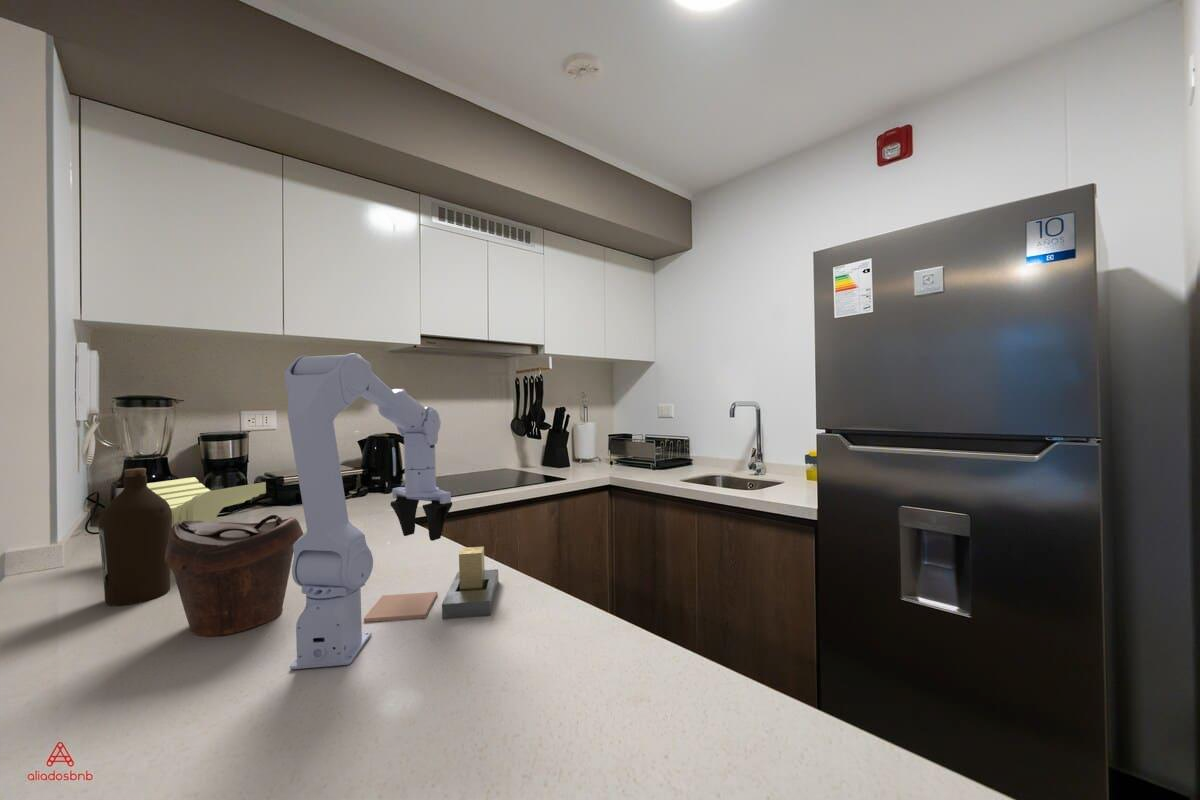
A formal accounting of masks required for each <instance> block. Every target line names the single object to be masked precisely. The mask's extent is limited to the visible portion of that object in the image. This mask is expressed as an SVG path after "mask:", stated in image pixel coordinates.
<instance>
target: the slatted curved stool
mask: <svg viewBox="0 0 1200 800" xmlns="http://www.w3.org/2000/svg"><path fill="white" fill-rule="evenodd" d="M266 485H267V483H266V481H264V482H263V481H262V482H258V483H251V484H250V483H249V484H245V485H238V486H232V487H231V486H230V487H226V488H219V489H218V488H217V489H214V490H212V489H209V487H206V486H205V485H204V484H203V483H201V482H200V481H199V479H197V478H196V477H194V476H193V477H185V478H177V479H172V480H171V479H170V480H163V481H156V482H147V487H148V488H149V489H150V490H152V491H153V492H155V493H156V494H157V495H159V496H160V497H162V498H163V499H164V500H166V501H167V502H168V504H169V506H170V508H171V511H172V527H173V526H174V525H175V524H176V523H177V522H180V521H185V520H196V521H209V522H217V517H218V515H219V514H220V512H222V510H223V509H224V508H226V507H230V506H233V505H238V504H243V503H245V502H246V501H249V500H252V499H253V498H257V497H259V496H260V495H264V494H267V486H266Z"/></svg>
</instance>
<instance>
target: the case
mask: <svg viewBox="0 0 1200 800" xmlns="http://www.w3.org/2000/svg"><path fill="white" fill-rule="evenodd" d="M271 520H272V521H271ZM273 520H274V521H273ZM303 534H304V532H303V529H302V527H301V524H300V521H298V519H297V518H295V517H294V516H293V517H292V516H291V517H288V518H286V519H283V518H282V517H281V516H279V515H276V514H271V515H269V516H266V517H265V518H262V519H261V521H260V522H251V523H249V522H248V523H247V522H237V521H236V522H235V521H233V522H231V521H228V522H227V521H215V522H209V521H196V520H185V521H180V522H177V523H176V524H175V525H174V526H173V527H172V528H171V530H170V533H169V538H168V543H167V548H166V554H165V561H166V563H168V564H169V565H170V568H171V569H172V573H173V576H174V579H175V582H176V586H177V590H178V592H179V596H180V599H181V603H182V607H183V610H184V613H185V617H186V619H187V624H188V626H189V630H190V632H191V633H192V634H195V635H197V636H202V637H203V636H204V637H205V636H206V637H214V636H215V637H216V636H226V635H228V636H229V635H233V634H236V633H241V632H244V631H247V630H250V629H253V628H257V627H259V626H261V625H264V624H266V623H269V622H270V621H273V620H275V619H276V618H277V617H279V616H280V615H281V614H282V613H283V610H284V602H285V598H286V597H285V596H286V591H287V586H288V581H289V577H290V574H291V573H290V572H291V569H292V563H293V558H294V550H293V544H294V543H295V542H296V541H297V540H298V539H299V538H300V537H301V536H302V535H303Z"/></svg>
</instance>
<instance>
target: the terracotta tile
mask: <svg viewBox="0 0 1200 800" xmlns="http://www.w3.org/2000/svg"><path fill="white" fill-rule="evenodd" d="M437 597H438V591H429V592H428V591H427V592H418V593H417V592H416V593H415V592H414V593H401V594H400V593H399V594H387V595H386V594H385V595H383V594H382V595H381V596H380V598H379V599H378V600H377V602H376V603H375V604H374V605H373V607H372V608H371V609H370V610H369V612H367V614H366V615H365V616H364V618H363V623H370V622H382V621H383V622H386V621H397V620H398V621H400V620H412V619H413V620H414V619H425V618H426V617H427V616H428V614H429V611H430V610H431V608H432V606H433V604H434V602H435V601H436V599H437Z"/></svg>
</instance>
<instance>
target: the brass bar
mask: <svg viewBox="0 0 1200 800" xmlns="http://www.w3.org/2000/svg"><path fill="white" fill-rule="evenodd" d="M458 565H459V566H458V567H459V568H458V569H459V570H458V572H459V577H460V591H473V590H485V570H486V568H485V546H475V547H473V546H472V547H462V548H461V549H460V552H459V553H458Z"/></svg>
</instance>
